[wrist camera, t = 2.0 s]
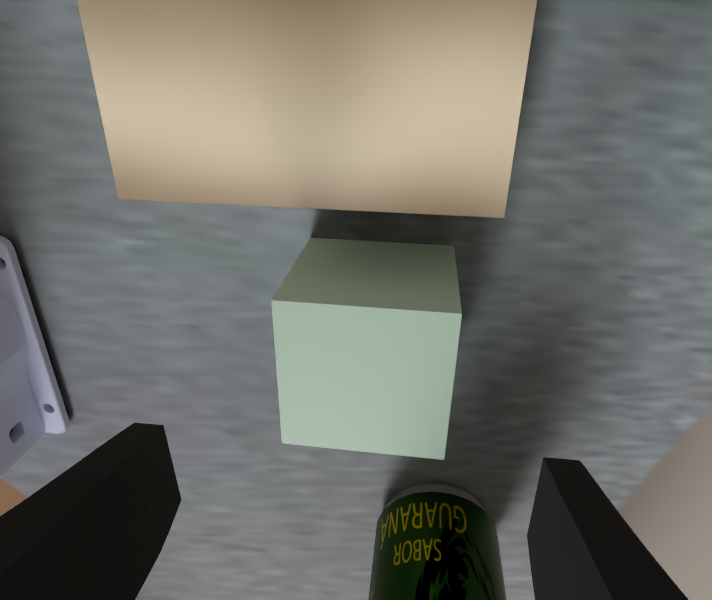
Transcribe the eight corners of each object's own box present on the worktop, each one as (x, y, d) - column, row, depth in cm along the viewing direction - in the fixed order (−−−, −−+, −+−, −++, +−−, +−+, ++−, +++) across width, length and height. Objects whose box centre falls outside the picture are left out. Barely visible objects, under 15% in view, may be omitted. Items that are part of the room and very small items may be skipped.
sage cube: (440, 365, 19) (444, 460, 15) (314, 355, 20) (281, 443, 16) (453, 244, 17) (461, 313, 13) (310, 236, 18) (271, 300, 13)
